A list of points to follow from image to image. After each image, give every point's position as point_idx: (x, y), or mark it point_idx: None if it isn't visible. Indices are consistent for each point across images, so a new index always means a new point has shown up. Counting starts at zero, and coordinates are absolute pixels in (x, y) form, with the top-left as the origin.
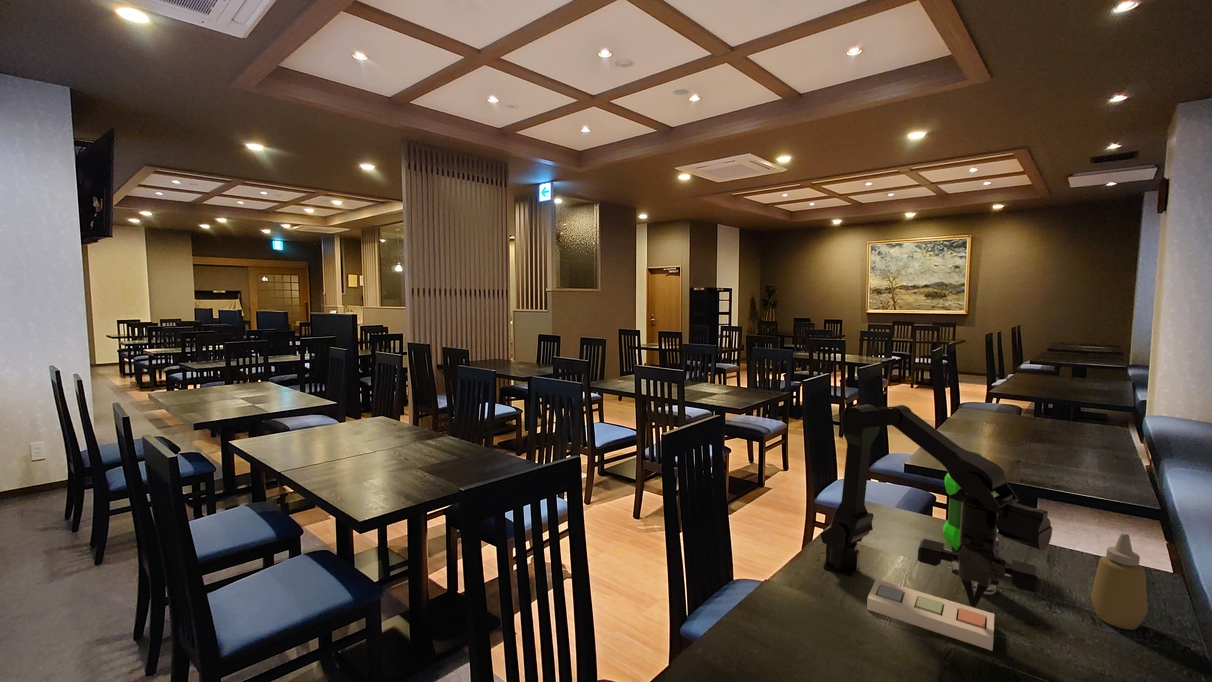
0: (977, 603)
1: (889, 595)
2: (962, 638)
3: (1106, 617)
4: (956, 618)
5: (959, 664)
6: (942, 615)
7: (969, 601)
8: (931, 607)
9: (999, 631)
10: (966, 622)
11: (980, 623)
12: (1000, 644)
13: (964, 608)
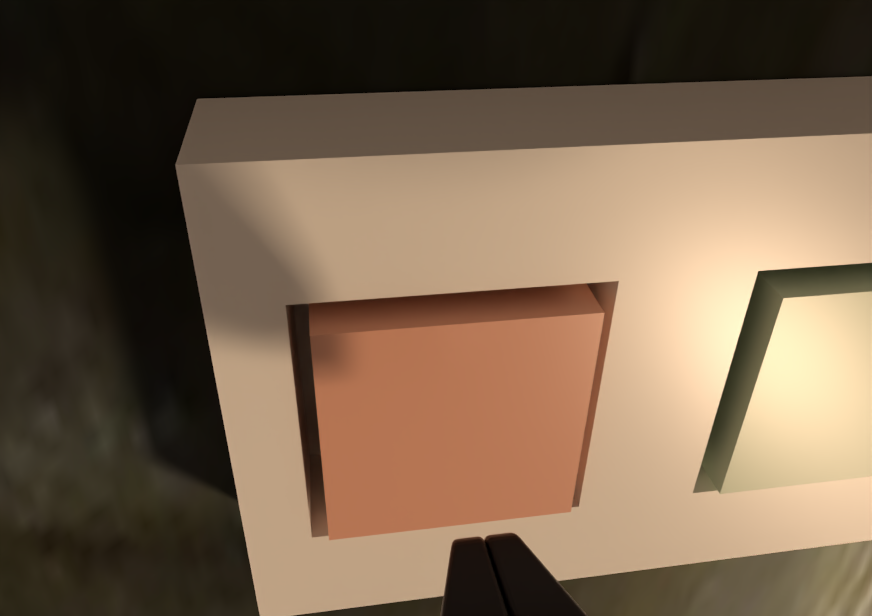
0: (446, 602)
1: None
2: (509, 95)
3: None
4: None
5: None
6: (752, 284)
7: (553, 584)
8: (860, 344)
9: (209, 474)
10: (505, 308)
11: (360, 370)
12: (157, 283)
13: None
